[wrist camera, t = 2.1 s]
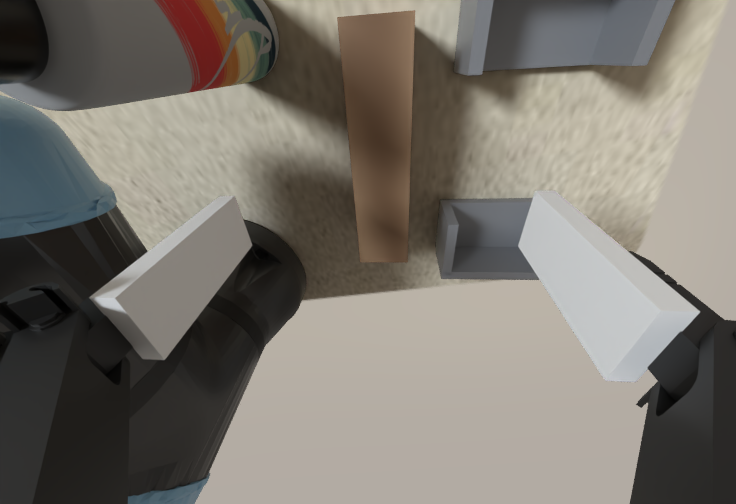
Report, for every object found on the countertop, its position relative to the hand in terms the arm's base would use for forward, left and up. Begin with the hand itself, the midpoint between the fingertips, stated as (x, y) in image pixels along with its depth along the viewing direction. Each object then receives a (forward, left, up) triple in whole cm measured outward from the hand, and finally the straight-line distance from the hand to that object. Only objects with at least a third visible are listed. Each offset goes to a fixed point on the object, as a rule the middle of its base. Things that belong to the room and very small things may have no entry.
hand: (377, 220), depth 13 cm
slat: (0, 0, -13) cm, 13 cm away
